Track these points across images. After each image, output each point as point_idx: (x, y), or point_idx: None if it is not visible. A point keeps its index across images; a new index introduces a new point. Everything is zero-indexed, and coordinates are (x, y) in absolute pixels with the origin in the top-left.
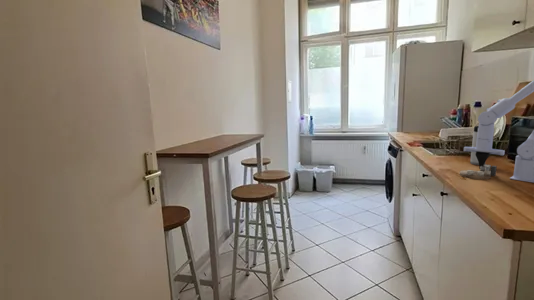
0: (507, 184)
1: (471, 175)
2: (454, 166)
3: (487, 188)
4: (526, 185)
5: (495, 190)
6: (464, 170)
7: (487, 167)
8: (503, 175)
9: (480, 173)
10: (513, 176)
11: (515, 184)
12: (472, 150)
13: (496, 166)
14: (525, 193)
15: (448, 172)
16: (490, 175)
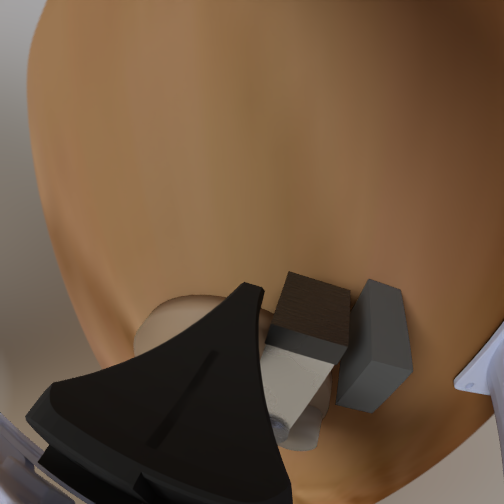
0: (381, 453)
1: None
2: (44, 79)
3: (291, 482)
4: (459, 438)
5: (312, 488)
6: (144, 330)
7: (297, 413)
8: (466, 273)
9: None
10: (493, 358)
11: (419, 444)
12: (8, 444)
13: (405, 375)
14: (391, 489)
15: (94, 324)
16: (323, 417)
